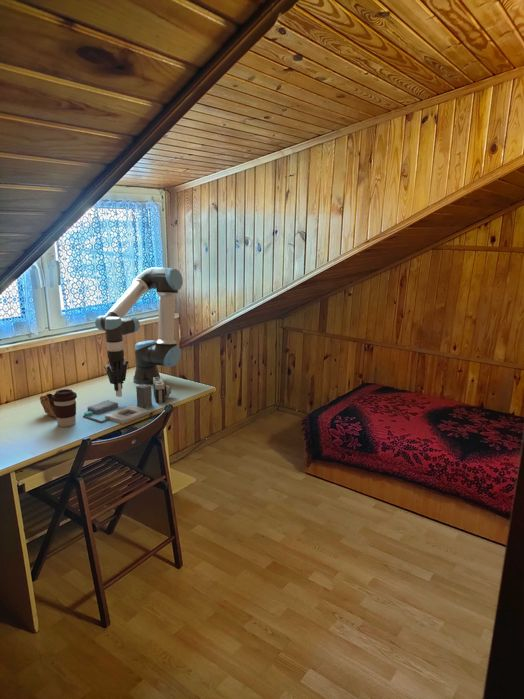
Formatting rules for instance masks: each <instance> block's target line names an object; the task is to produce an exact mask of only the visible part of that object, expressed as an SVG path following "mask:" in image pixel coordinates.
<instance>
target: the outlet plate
mask: <svg viewBox="0 0 524 699" xmlns="http://www.w3.org/2000/svg"><path fill="white" fill-rule="evenodd" d="M149 414H151V410H149V409H148V408H147V409H146V408H142V407H139V406H137V405H133V404H131V405H130V406H127V407H124V408H121V409H118V410H116V411H112V412H109V413H106V414H104V418H105V419H108V418H110V420H109V421H113V422H116V423H119V424H122V425H124V424H127V423H129V422H132V421H134V420H136V419H139V418H140V419H141V418H142V417H144V416H147V415H149Z"/></svg>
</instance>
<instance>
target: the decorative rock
mask: <svg viewBox="0 0 524 699" xmlns="http://www.w3.org/2000/svg"><path fill="white" fill-rule="evenodd" d="M52 395H53V394H52V393H47V394H44V395H40V396H39V401H40V404H41V406H42V408H43V411H44V413H45V414H47V415H48V416H50V417H54V418H55V419H57V417H56V415H55V409H54V401H53V400H52Z"/></svg>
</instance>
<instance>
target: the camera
mask: <svg viewBox="0 0 524 699" xmlns="http://www.w3.org/2000/svg"><path fill="white" fill-rule="evenodd" d="M152 385H153V389H152V390H153V396H154V399H155V402H156V404H164V403H166V401H165V399H166V397H168V396H170V395H171V394H172V388H171V386H169V385H167V384H166V385H165V383H164V381H163V379H162V377H161V376H160V377H153V384H152Z"/></svg>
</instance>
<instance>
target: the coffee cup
mask: <svg viewBox="0 0 524 699" xmlns="http://www.w3.org/2000/svg"><path fill="white" fill-rule="evenodd" d="M77 398H78V395H77V393H76V392H75V391H73V390H72V389H69V388H68V389H67V388H65V389H64V388H63V389H59V390H57V391H55V393H54V394H52V400H53V401H54V409H55V415H56V417H57V418H56V417H55V418H56V422H57V426H58V427H62V428H66V427H67V428H68V427H72V426H73V425H75V424H76V421H77V420H76V418H77V417H76V414H77V401H76V399H77Z"/></svg>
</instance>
